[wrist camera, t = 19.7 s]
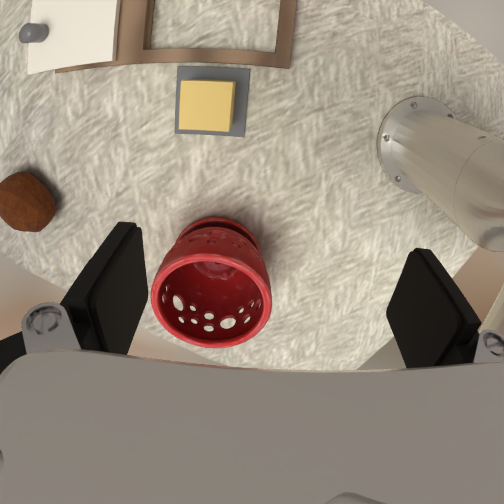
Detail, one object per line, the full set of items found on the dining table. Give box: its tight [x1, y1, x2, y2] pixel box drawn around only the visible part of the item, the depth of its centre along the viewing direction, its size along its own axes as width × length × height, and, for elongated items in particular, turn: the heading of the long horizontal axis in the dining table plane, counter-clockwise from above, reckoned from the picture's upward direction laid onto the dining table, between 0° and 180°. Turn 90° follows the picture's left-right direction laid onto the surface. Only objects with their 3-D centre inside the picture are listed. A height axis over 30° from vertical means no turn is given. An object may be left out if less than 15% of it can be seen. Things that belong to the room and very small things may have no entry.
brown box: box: [55, 0, 297, 73], centre depth 27 cm, size 27×11×2 cm, turn 85°
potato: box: [0, 172, 55, 232], centre depth 36 cm, size 8×11×8 cm
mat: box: [175, 66, 250, 137], centre depth 33 cm, size 8×8×1 cm
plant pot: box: [151, 218, 272, 348], centre depth 39 cm, size 13×13×12 cm
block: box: [179, 79, 236, 132], centre depth 31 cm, size 5×5×5 cm
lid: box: [19, 0, 121, 75], centre depth 23 cm, size 12×10×4 cm
